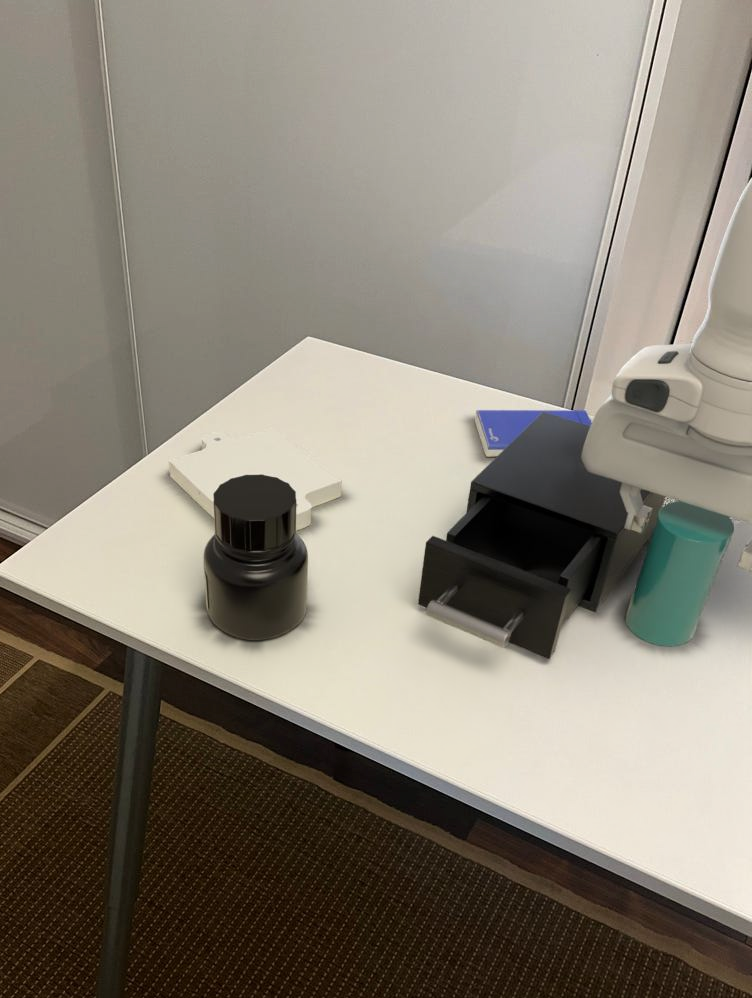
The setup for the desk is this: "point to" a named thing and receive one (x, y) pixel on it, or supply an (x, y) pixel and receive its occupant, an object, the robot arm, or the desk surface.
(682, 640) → the teal cylinder
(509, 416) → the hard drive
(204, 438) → the mounting plate
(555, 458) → the cabinet
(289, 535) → the ink bottle
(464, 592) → the drawer
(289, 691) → the desk surface
